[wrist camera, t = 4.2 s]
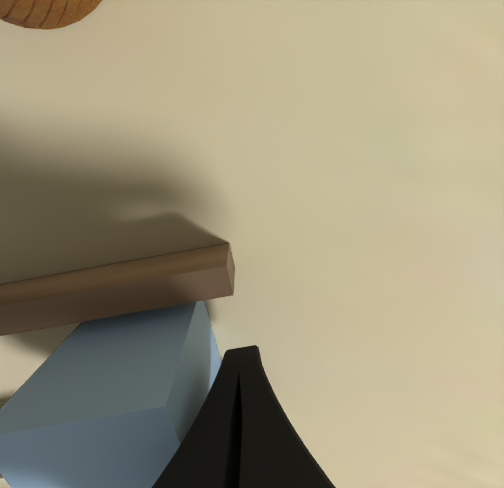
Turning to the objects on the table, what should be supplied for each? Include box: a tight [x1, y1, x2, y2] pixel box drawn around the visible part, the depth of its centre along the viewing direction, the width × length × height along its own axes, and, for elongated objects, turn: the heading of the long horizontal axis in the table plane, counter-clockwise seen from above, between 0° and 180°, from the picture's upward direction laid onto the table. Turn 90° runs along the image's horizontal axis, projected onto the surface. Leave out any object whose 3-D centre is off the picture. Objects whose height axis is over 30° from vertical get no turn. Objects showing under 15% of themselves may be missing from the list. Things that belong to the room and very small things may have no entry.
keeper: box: [0, 300, 222, 488], centre depth 10 cm, size 5×5×6 cm
